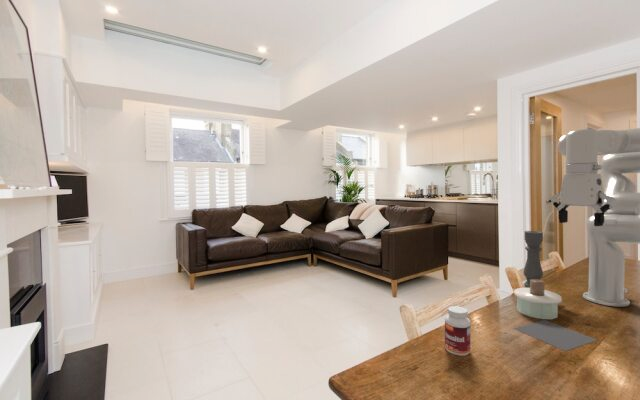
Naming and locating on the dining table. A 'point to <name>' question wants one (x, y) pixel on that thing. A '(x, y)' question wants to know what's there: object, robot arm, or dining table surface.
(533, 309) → the bowl
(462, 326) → the pill bottle
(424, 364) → the dining table surface
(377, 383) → the dining table surface
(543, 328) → the mat
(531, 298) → the lid
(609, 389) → the dining table surface
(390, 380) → the dining table surface
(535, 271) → the candle holder
